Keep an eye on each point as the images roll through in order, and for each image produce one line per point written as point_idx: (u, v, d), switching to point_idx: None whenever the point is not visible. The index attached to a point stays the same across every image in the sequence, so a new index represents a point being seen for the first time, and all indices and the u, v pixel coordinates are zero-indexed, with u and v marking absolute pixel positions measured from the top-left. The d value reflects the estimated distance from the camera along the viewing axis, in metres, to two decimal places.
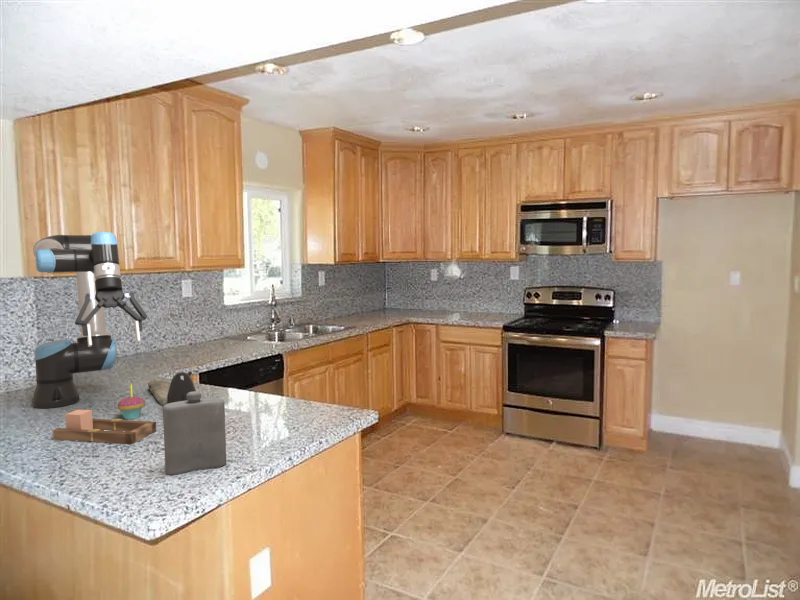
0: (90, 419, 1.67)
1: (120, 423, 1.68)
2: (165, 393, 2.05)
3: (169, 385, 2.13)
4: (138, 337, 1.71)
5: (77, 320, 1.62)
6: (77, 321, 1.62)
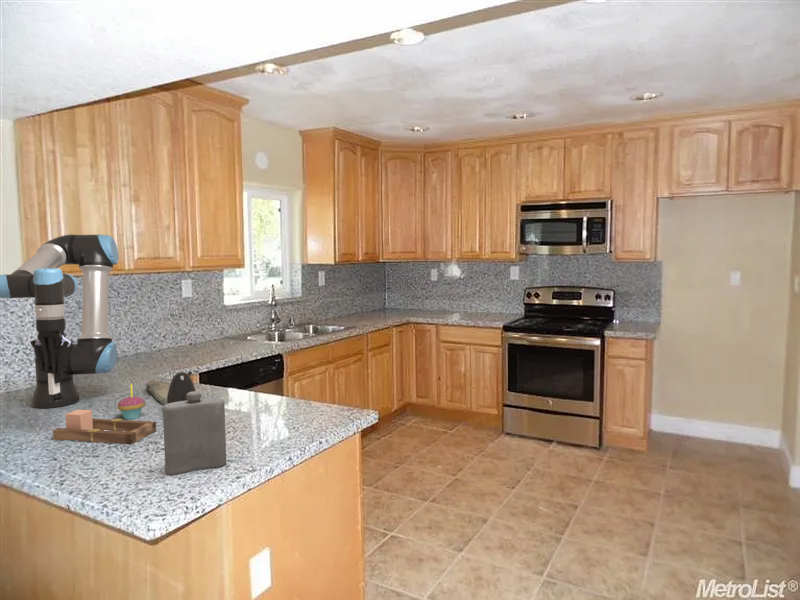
0: (90, 419, 1.67)
1: (120, 423, 1.68)
2: (165, 393, 2.05)
3: (168, 385, 2.13)
4: (51, 391, 1.64)
5: (40, 369, 1.64)
6: (41, 369, 1.64)
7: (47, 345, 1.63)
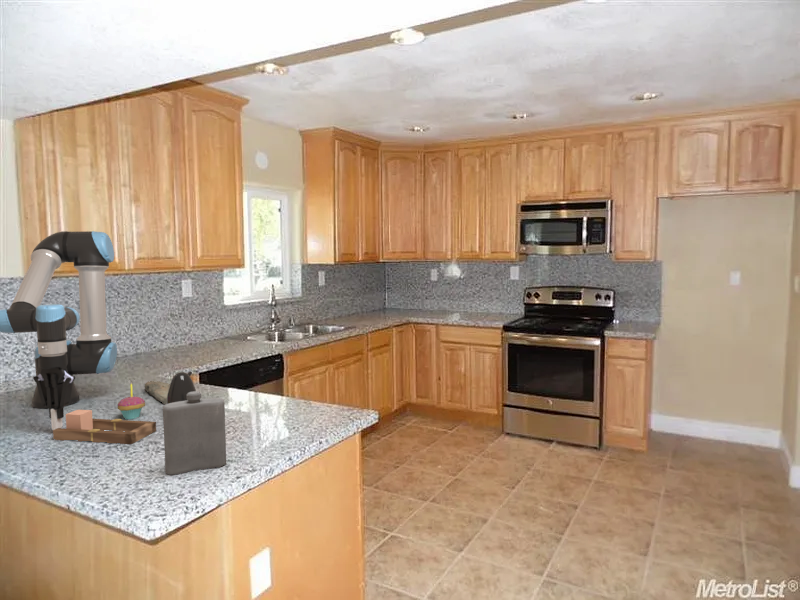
0: (90, 419, 1.67)
1: (120, 423, 1.68)
2: (166, 393, 2.05)
3: (167, 385, 2.13)
4: (54, 426, 1.65)
5: (43, 404, 1.65)
6: (43, 405, 1.65)
7: (50, 381, 1.64)
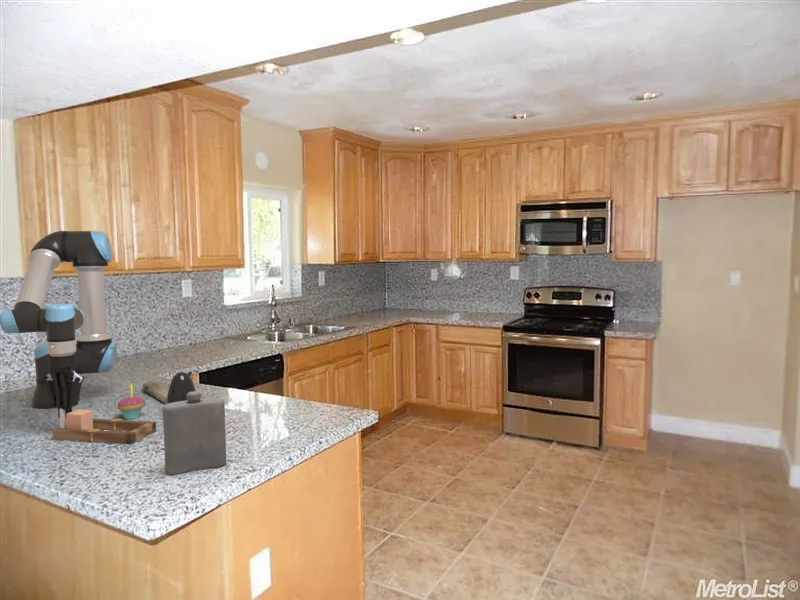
0: (90, 419, 1.67)
1: (120, 423, 1.68)
2: (166, 393, 2.05)
3: (167, 385, 2.13)
4: (63, 426, 1.65)
5: (52, 404, 1.65)
6: (52, 405, 1.65)
7: (59, 381, 1.64)
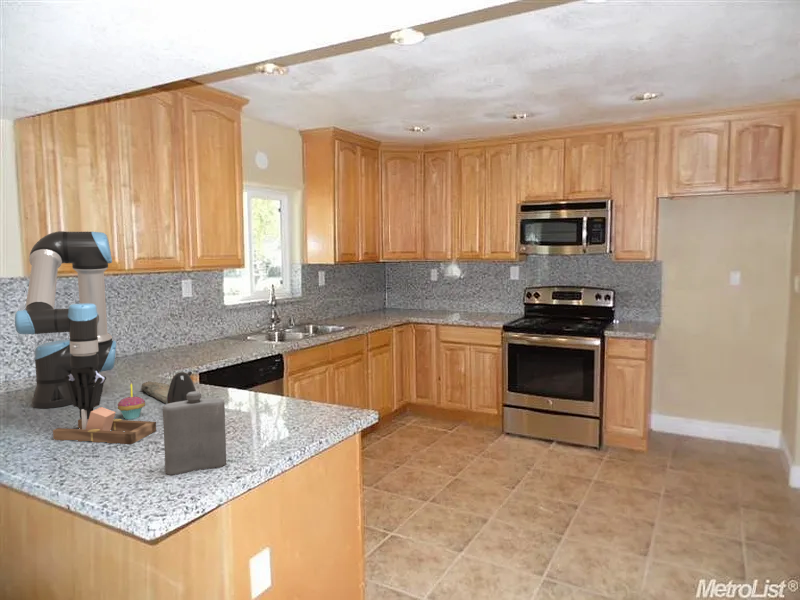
0: (111, 421, 1.66)
1: (120, 423, 1.68)
2: (167, 393, 2.05)
3: (166, 385, 2.13)
4: (84, 427, 1.63)
5: (73, 404, 1.63)
6: (74, 405, 1.63)
7: (81, 381, 1.62)
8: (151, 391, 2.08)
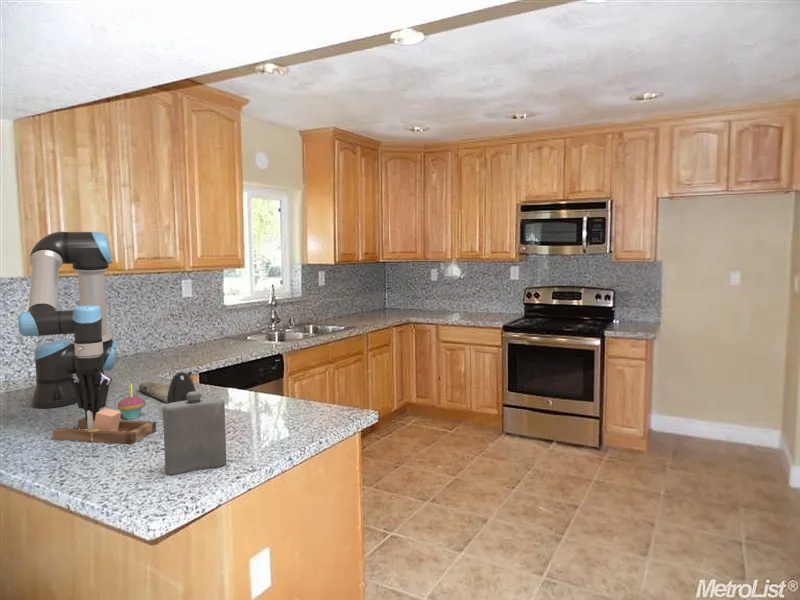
0: (118, 420, 1.65)
1: (120, 423, 1.68)
2: (167, 393, 2.05)
3: (165, 385, 2.13)
4: (90, 428, 1.64)
5: (79, 406, 1.63)
6: (80, 407, 1.63)
7: (86, 383, 1.63)
8: (151, 391, 2.08)
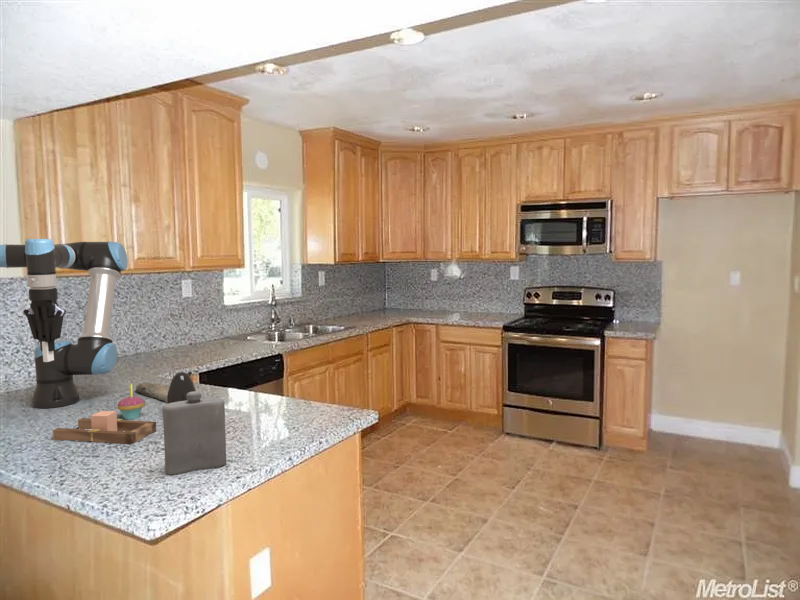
0: (115, 420, 1.65)
1: (120, 423, 1.68)
2: None
3: (164, 385, 2.12)
4: (46, 358, 1.69)
5: (34, 337, 1.68)
6: (34, 338, 1.68)
7: (40, 314, 1.67)
8: (150, 392, 2.07)
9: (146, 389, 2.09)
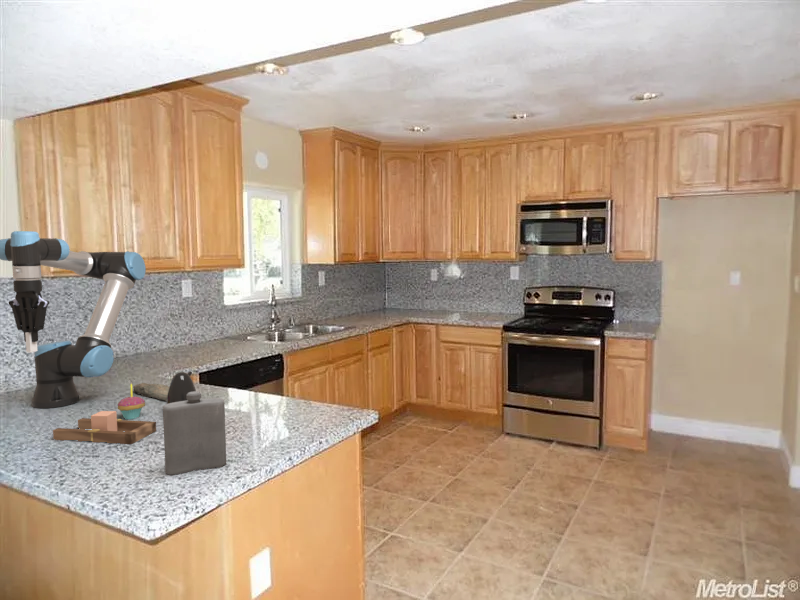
0: (115, 420, 1.65)
1: (120, 423, 1.68)
2: None
3: (163, 385, 2.12)
4: (29, 349, 1.71)
5: (18, 328, 1.71)
6: (18, 329, 1.71)
7: (24, 305, 1.70)
8: (150, 392, 2.07)
9: (145, 389, 2.08)
